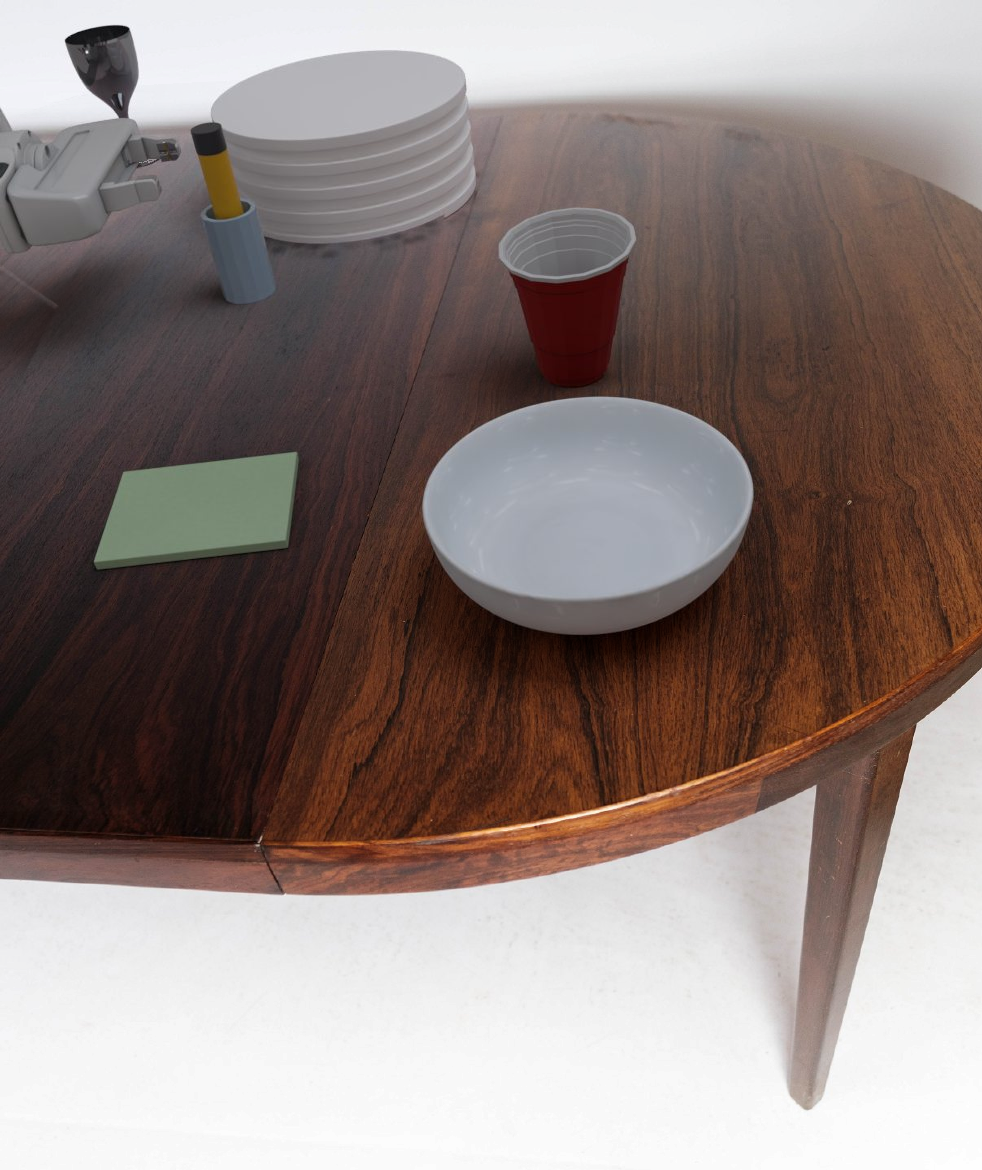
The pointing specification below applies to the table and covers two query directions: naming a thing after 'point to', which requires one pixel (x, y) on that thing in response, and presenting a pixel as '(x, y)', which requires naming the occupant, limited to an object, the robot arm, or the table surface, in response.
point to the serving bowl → (588, 513)
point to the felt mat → (200, 511)
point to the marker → (217, 170)
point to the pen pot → (240, 255)
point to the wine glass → (106, 65)
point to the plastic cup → (570, 287)
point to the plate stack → (350, 144)
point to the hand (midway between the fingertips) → (169, 167)
